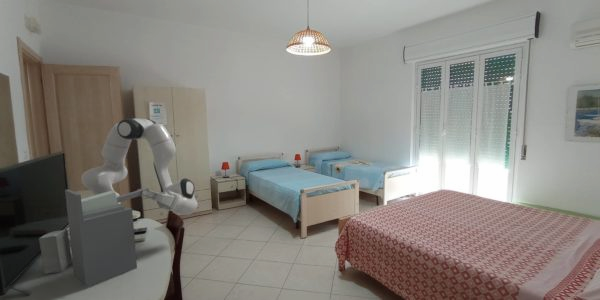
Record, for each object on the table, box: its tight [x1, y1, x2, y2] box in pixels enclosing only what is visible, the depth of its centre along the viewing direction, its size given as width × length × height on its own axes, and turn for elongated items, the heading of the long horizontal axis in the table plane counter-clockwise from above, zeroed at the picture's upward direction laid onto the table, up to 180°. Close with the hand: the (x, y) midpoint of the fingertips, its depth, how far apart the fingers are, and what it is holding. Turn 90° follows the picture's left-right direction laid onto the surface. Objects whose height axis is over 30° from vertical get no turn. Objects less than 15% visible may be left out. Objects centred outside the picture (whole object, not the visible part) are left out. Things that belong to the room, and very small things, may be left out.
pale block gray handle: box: [81, 187, 150, 214], centre depth 119 cm, size 4×26×6 cm, turn 143°
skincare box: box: [38, 229, 73, 275], centre depth 120 cm, size 8×7×16 cm
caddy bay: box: [64, 189, 138, 289], centre depth 115 cm, size 14×18×36 cm
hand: (140, 191), depth 126 cm, fingers closed on pale block gray handle, 2 cm apart
